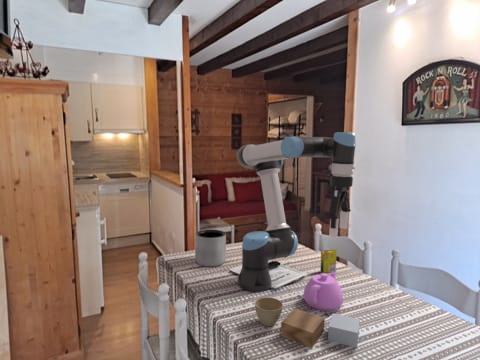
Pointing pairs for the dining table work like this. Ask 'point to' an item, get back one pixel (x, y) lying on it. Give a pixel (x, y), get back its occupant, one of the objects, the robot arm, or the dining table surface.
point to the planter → (210, 248)
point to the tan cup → (268, 310)
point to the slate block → (344, 330)
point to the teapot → (323, 292)
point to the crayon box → (328, 261)
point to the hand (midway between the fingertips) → (338, 232)
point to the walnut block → (302, 327)
